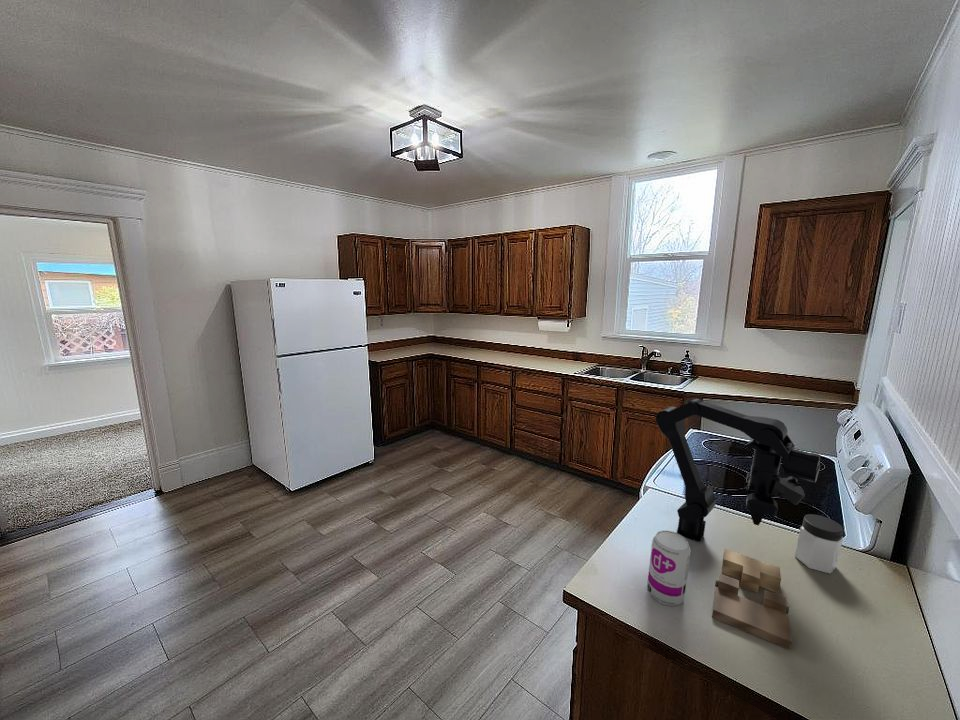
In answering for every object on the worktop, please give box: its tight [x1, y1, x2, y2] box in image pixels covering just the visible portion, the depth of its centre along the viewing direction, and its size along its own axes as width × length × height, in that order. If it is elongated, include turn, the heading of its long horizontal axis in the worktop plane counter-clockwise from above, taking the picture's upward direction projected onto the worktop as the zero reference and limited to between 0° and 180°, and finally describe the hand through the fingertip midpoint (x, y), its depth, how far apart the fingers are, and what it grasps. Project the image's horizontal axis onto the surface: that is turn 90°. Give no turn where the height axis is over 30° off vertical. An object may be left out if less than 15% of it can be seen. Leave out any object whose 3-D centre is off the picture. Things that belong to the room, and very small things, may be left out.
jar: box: [794, 513, 845, 574], centre depth 105 cm, size 9×8×12 cm
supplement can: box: [646, 530, 692, 607], centre depth 93 cm, size 8×8×15 cm
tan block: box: [721, 548, 782, 594], centre depth 99 cm, size 12×8×4 cm, turn 56°
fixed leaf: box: [711, 573, 792, 650], centre depth 89 cm, size 14×11×4 cm
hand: (755, 520), depth 104 cm, fingers open, 4 cm apart
